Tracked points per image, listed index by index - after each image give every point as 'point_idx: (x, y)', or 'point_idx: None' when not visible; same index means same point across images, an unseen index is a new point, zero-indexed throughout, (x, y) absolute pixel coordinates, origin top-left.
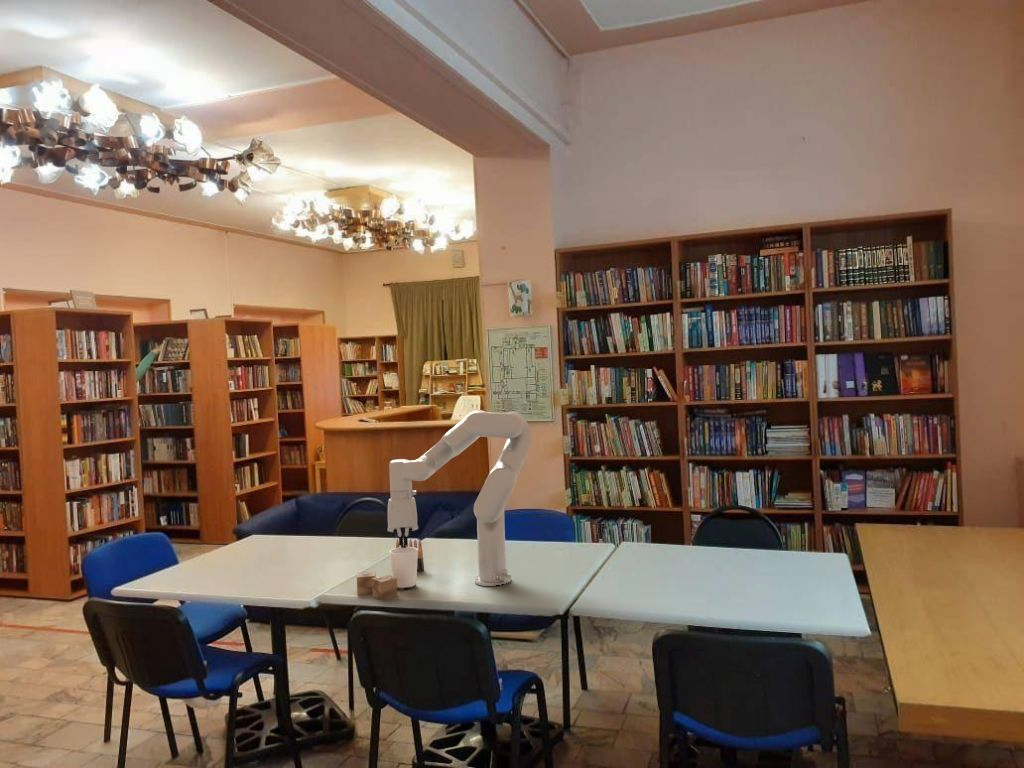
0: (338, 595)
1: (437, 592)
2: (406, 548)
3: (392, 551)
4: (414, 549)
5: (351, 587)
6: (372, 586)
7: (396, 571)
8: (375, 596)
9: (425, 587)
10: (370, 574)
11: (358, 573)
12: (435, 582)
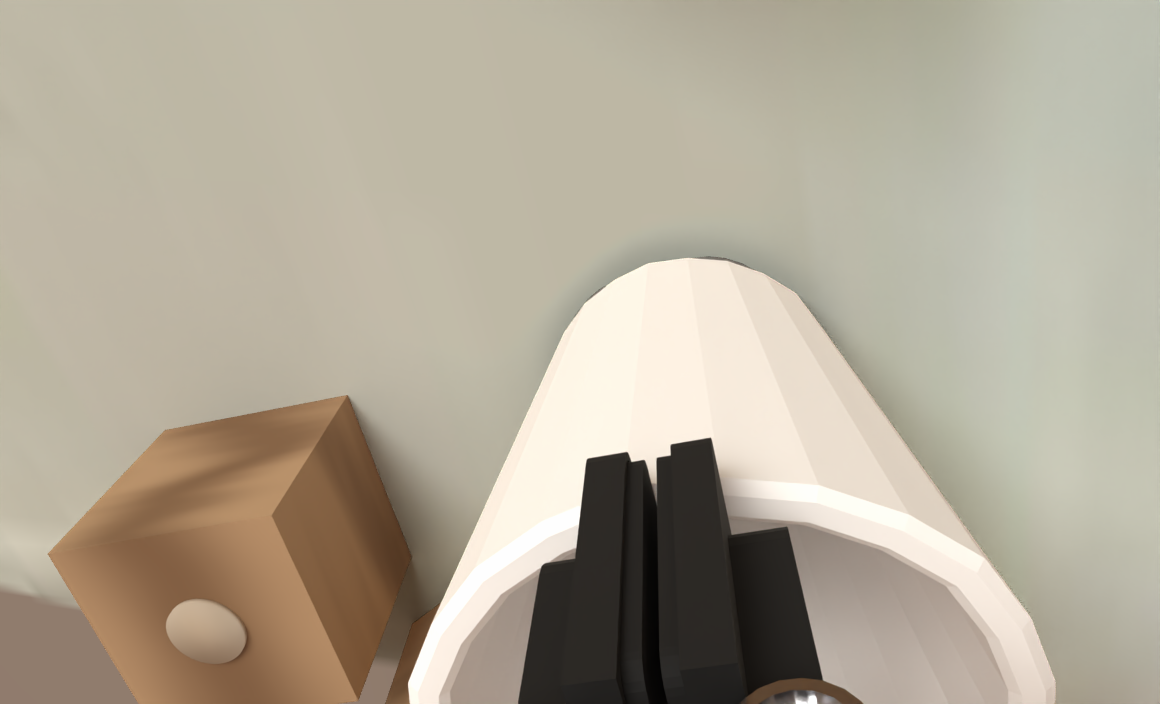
0: (57, 579)
1: (1089, 582)
2: (742, 509)
3: (460, 669)
4: (957, 598)
5: (33, 336)
6: (389, 700)
7: None
8: None
9: (947, 405)
10: (270, 641)
11: (80, 585)
12: (1084, 203)
